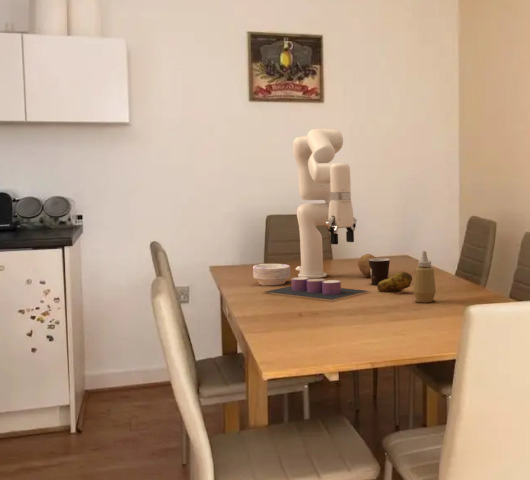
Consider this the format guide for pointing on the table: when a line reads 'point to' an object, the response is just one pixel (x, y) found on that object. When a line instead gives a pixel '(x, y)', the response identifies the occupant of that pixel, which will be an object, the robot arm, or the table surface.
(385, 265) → the coffee mug
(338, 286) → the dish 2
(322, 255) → the robot arm
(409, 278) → the potato
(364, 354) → the table surface
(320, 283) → the dish mid
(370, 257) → the natural sponge
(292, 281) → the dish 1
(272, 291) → the placemat
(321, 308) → the table surface
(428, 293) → the squeeze bottle
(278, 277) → the paper bowls
